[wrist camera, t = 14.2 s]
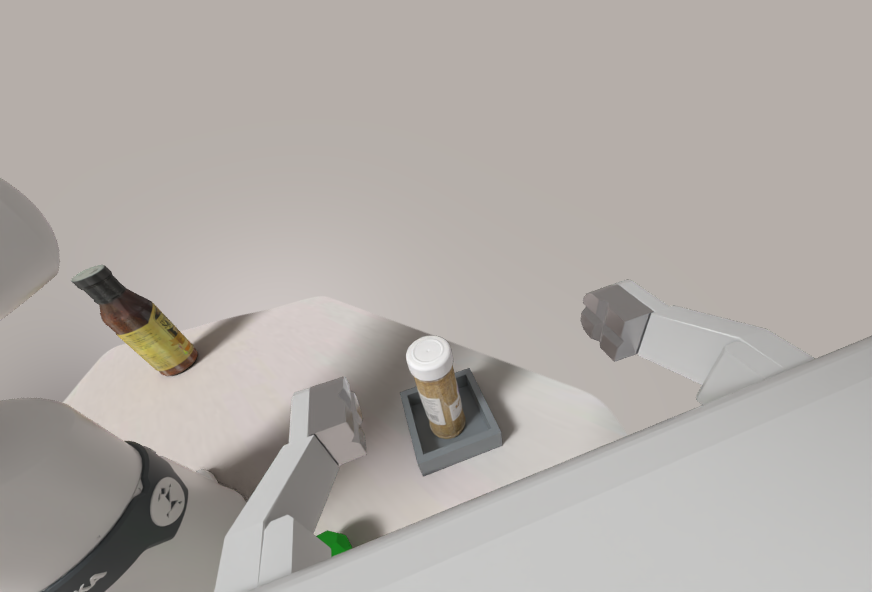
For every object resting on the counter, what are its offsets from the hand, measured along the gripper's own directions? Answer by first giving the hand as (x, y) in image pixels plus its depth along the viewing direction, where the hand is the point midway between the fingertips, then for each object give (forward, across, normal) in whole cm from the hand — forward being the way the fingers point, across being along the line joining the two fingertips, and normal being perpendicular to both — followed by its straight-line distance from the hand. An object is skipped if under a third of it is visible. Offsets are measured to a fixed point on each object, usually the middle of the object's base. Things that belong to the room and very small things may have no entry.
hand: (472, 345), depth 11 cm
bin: (+15, 0, +30) cm, 33 cm away
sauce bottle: (+44, +41, +30) cm, 67 cm away
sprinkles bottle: (+15, 0, +30) cm, 33 cm away
